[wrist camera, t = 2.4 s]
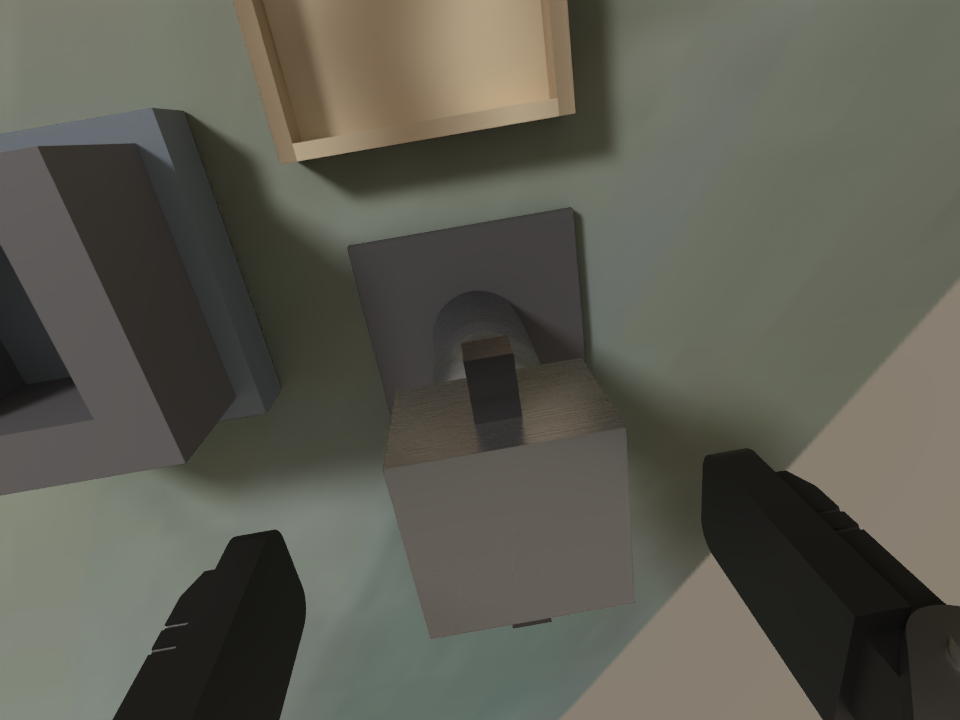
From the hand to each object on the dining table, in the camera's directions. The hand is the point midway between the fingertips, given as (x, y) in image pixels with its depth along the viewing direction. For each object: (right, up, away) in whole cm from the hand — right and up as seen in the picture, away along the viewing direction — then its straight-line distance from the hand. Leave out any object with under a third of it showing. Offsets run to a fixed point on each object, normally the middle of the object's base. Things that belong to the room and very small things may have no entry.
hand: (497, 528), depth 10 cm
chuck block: (-16, +5, +9) cm, 19 cm away
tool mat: (0, +4, +10) cm, 11 cm away
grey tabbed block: (0, +4, +10) cm, 11 cm away
